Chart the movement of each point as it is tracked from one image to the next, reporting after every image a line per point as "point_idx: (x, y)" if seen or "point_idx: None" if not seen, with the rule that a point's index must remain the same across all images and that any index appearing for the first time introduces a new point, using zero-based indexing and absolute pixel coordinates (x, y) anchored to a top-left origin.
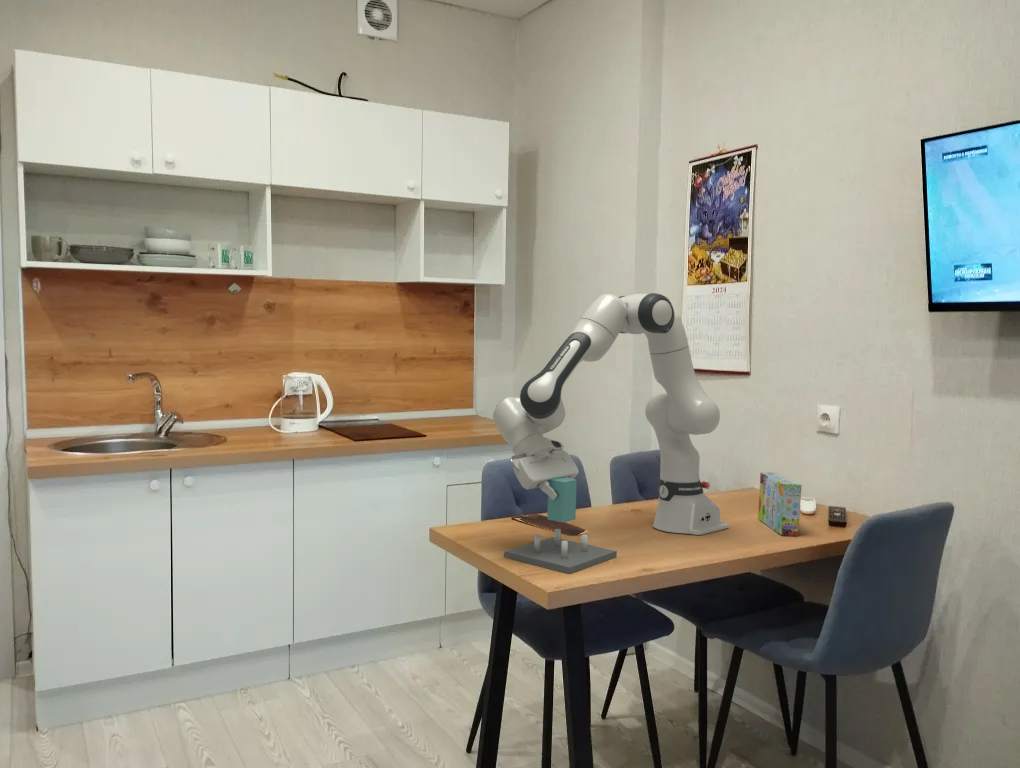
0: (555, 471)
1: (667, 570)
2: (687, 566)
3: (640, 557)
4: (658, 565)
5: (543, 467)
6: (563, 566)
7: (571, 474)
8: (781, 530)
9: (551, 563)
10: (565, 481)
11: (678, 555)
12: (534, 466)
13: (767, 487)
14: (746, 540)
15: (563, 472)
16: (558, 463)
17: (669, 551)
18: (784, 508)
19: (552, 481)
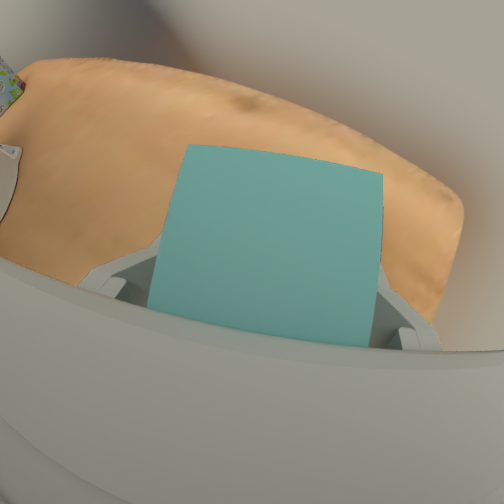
0: (209, 391)
1: (231, 83)
2: (190, 74)
3: (168, 143)
4: (208, 101)
5: (407, 499)
6: (382, 223)
7: (39, 273)
8: (20, 89)
9: (380, 258)
10: (355, 177)
11: (128, 108)
12: (496, 501)
13: None
14: (39, 100)
15: (91, 319)
16: (7, 417)
17: (108, 128)
18: (7, 73)
19: (367, 325)
